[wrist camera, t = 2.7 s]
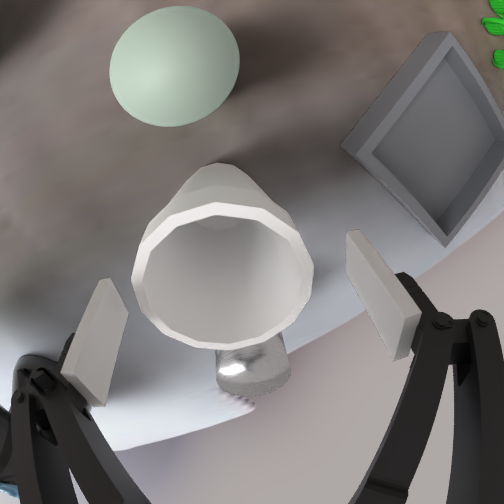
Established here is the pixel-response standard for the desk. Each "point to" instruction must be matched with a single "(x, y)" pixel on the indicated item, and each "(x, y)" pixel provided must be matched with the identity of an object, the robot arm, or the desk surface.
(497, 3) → the green leafy sprig
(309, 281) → the foam cup
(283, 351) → the steel canister
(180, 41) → the sage canister
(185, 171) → the desk surface
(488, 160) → the tray
